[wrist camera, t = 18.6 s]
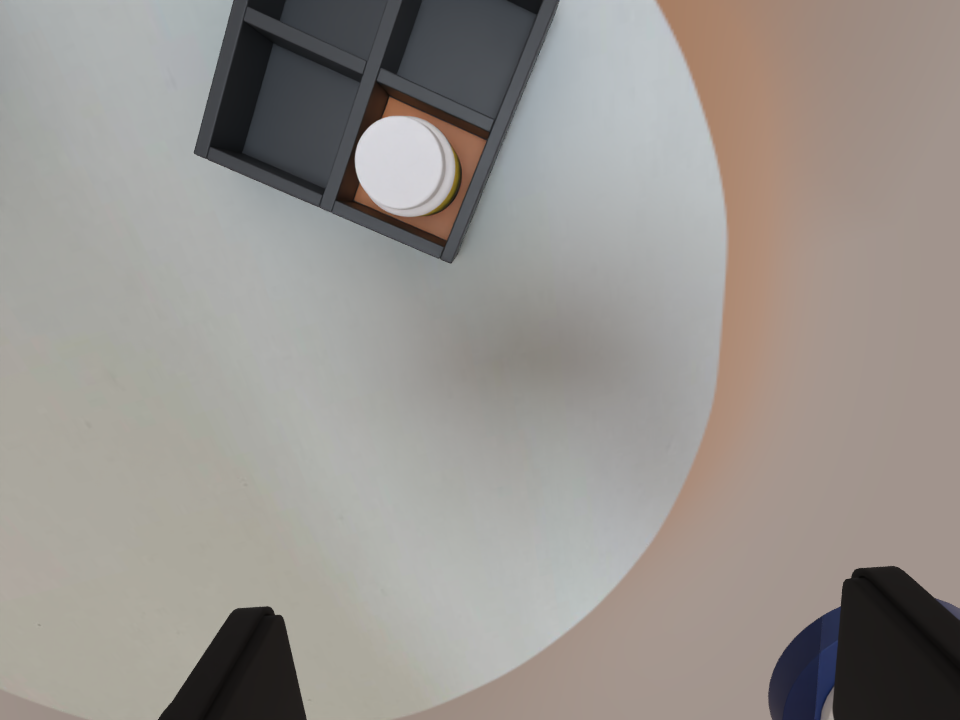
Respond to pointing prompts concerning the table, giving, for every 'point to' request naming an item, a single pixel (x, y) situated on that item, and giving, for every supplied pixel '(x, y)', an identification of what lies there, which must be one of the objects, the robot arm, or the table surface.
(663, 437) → the table surface
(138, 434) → the table surface
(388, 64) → the box
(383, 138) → the supplement bottle
